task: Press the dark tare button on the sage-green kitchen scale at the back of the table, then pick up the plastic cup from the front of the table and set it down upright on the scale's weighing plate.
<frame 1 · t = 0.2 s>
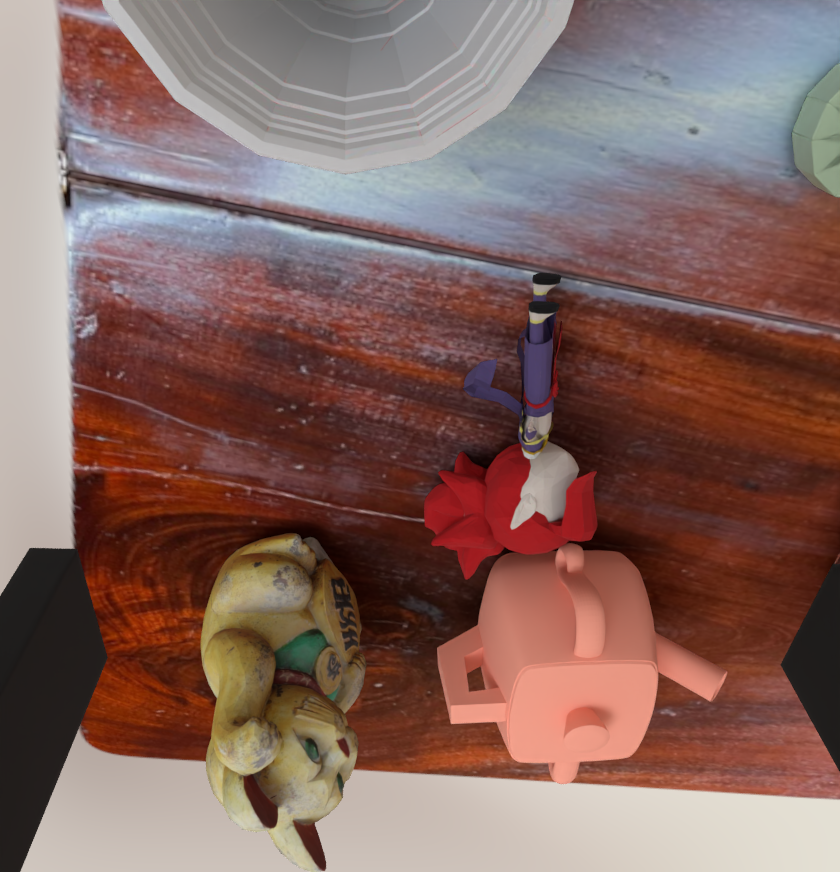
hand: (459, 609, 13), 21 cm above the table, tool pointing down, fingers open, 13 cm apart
decorative figurine: (287, 579, 41), on the table
figurine: (500, 407, 35), on the table
teapot 2: (558, 595, 42), on the table
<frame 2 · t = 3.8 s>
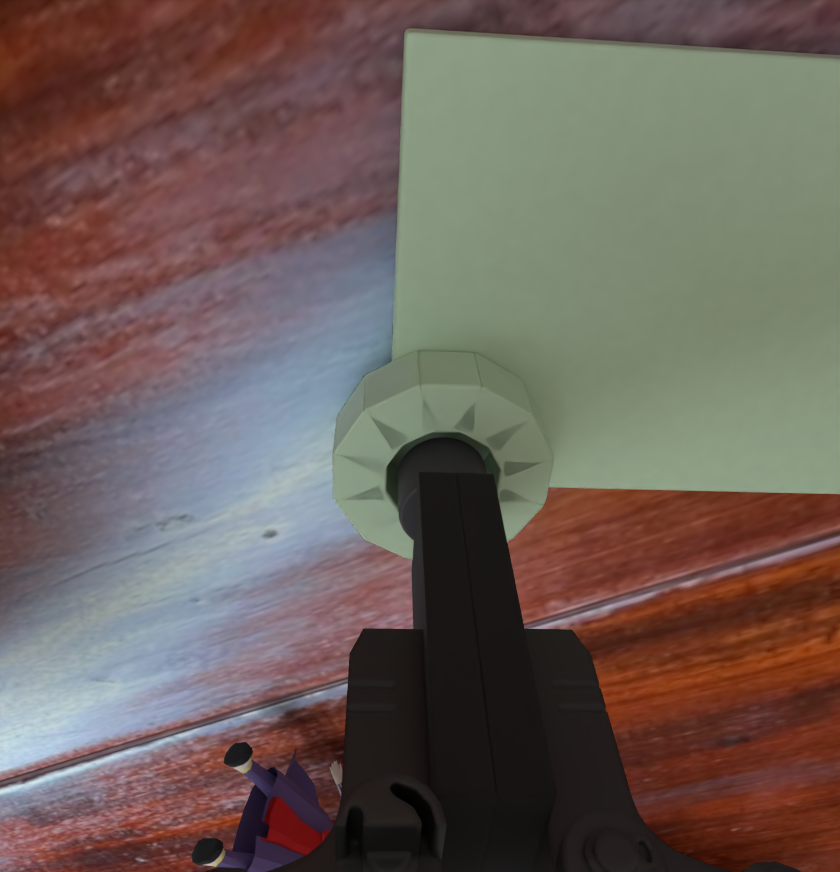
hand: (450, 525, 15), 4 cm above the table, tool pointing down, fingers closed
tare button: (443, 493, 16), point 3 cm above the table, slide at 0.2 cm, touching gripper
figurine: (355, 804, 28), on the table
scale: (656, 294, 16), on the table
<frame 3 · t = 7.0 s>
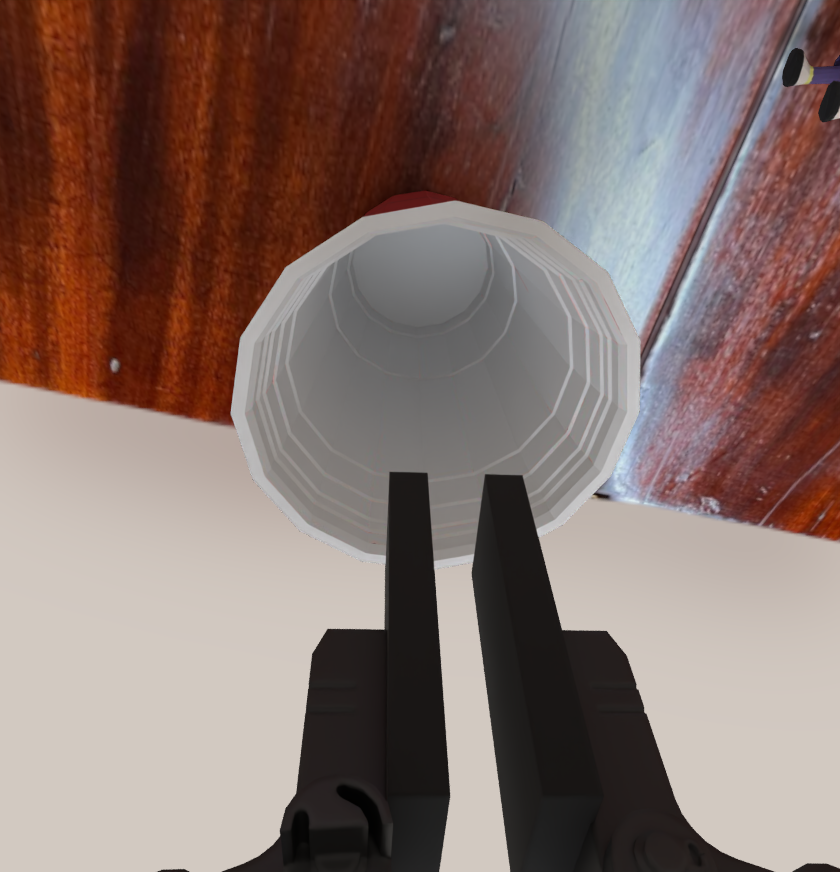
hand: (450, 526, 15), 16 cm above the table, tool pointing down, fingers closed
plastic cup: (424, 257, 29), on the table
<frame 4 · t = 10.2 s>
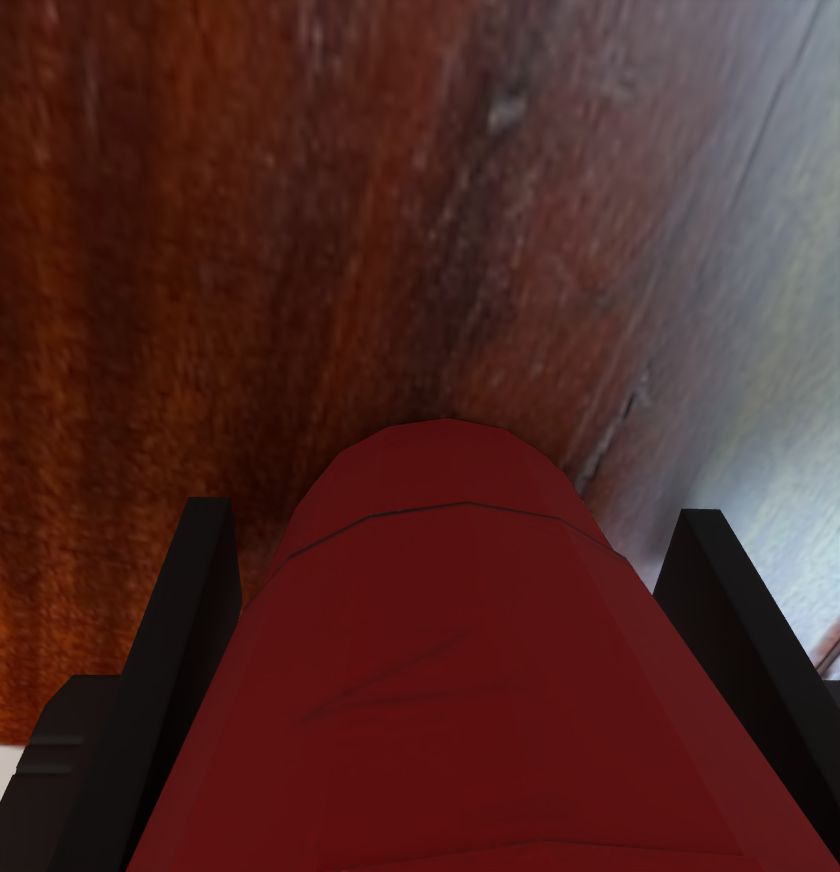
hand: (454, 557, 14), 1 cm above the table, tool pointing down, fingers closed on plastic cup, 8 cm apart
plastic cup: (445, 519, 15), on the table, touching gripper
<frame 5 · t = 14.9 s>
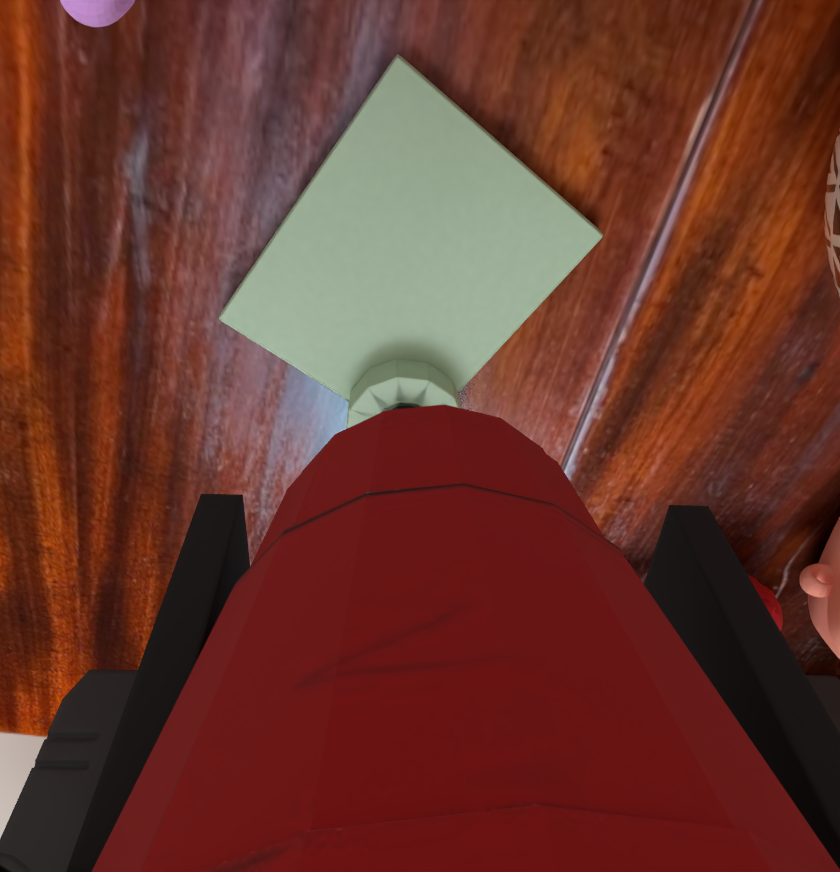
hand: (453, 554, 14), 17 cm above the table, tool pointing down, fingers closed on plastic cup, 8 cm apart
plastic cup: (437, 507, 15), point 16 cm above the table, touching gripper
tare button: (405, 434, 30), point 3 cm above the table, slide at 0.2 cm
figurine: (641, 590, 40), on the table
scale: (406, 270, 29), on the table
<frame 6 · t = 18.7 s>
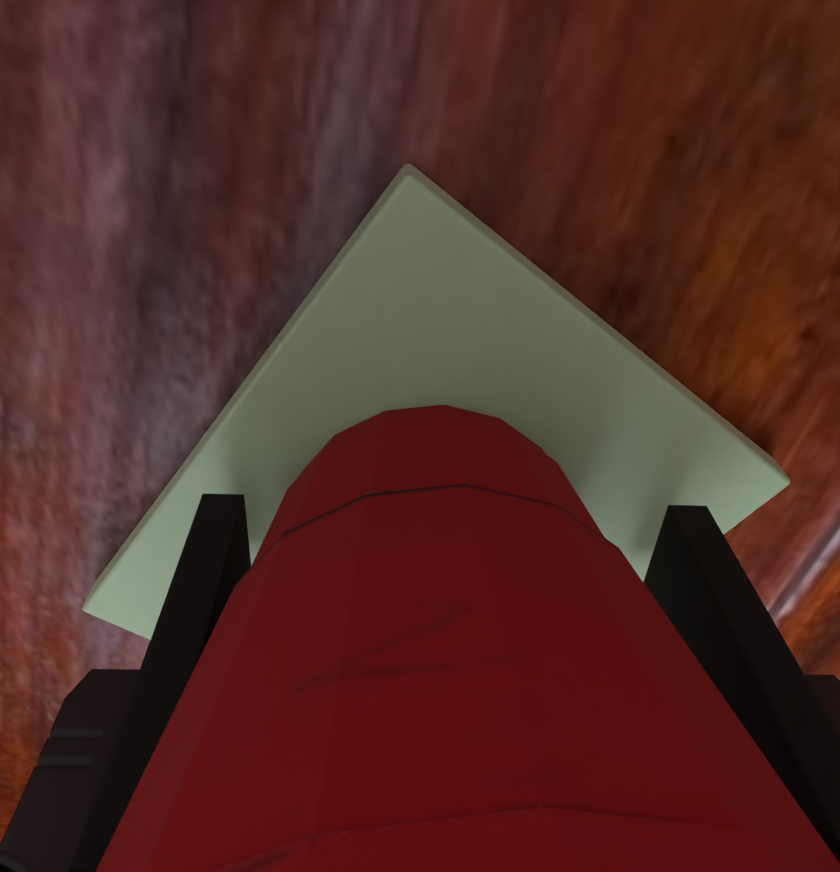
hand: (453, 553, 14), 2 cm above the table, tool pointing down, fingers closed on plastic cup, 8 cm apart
plastic cup: (436, 507, 15), point 1 cm above the table, touching gripper, scale
scale: (419, 522, 16), on the table
when the fingers open (2 cm above the table, at t = 18.9 s): plastic cup stays where it is, resting on scale.
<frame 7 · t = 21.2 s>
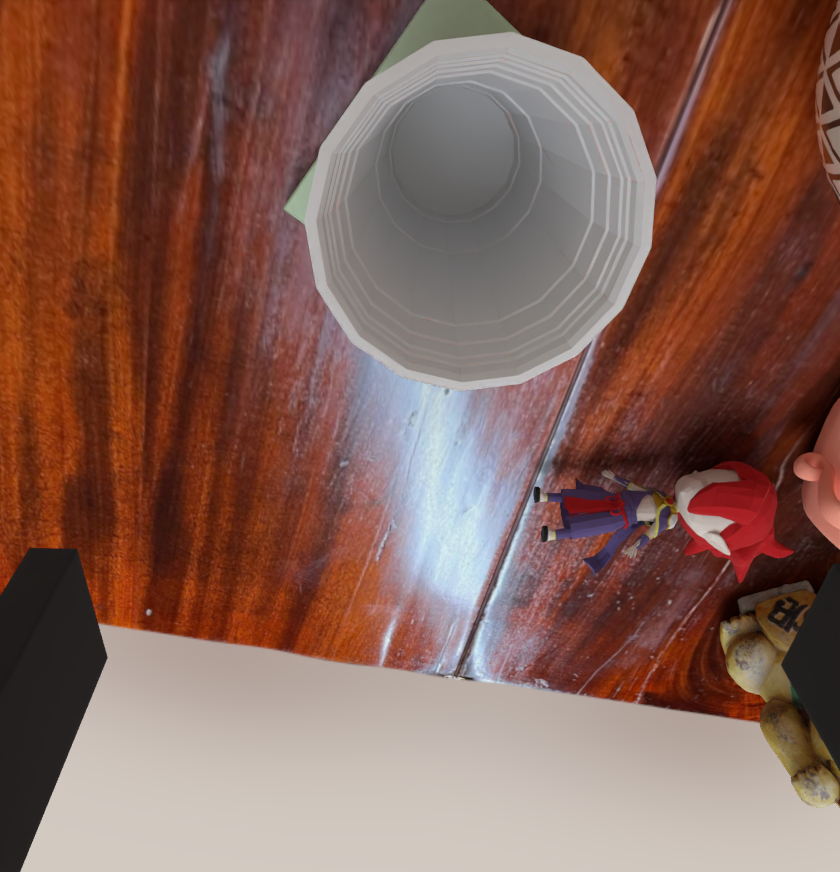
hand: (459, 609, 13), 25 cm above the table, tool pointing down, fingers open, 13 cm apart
decorative figurine: (778, 613, 50), on the table
plastic cup: (457, 148, 32), point 1 cm above the table, touching scale
figurine: (650, 486, 44), on the table
scale: (448, 168, 33), on the table
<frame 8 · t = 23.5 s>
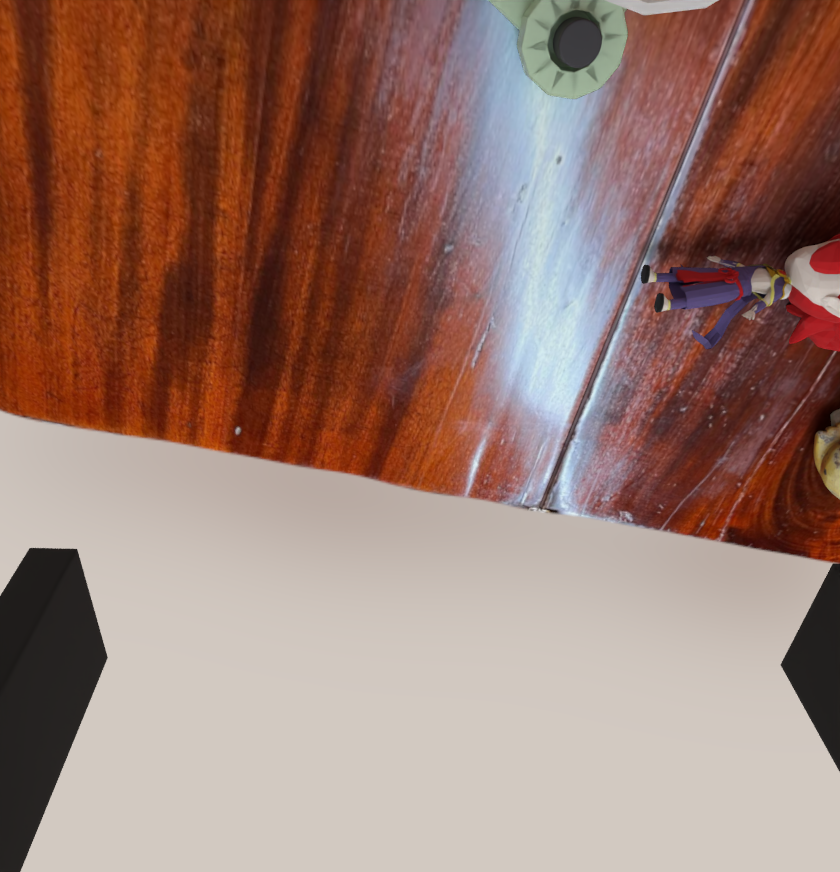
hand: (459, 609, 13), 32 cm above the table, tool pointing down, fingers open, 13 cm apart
tare button: (576, 42, 33), point 3 cm above the table, slide at 0.2 cm
figurine: (753, 277, 43), on the table
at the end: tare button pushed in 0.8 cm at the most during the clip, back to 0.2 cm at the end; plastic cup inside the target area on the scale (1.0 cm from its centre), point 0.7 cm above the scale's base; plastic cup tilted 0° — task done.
